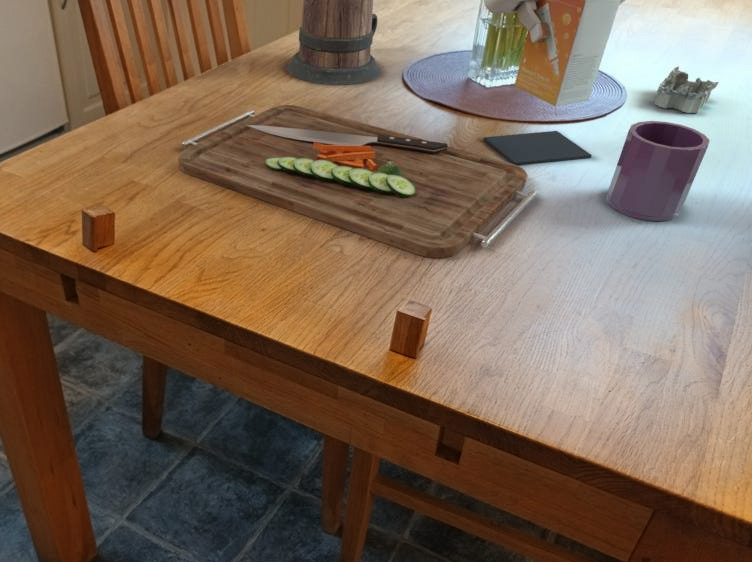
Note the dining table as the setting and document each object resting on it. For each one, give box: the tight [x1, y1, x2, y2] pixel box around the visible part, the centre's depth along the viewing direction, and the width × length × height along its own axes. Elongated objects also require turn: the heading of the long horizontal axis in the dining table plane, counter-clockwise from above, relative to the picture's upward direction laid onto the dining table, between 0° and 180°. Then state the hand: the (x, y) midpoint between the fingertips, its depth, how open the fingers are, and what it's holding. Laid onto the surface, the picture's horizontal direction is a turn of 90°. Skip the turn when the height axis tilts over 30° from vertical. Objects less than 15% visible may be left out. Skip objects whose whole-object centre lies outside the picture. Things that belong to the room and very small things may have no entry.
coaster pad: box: [483, 130, 593, 166], centre depth 103 cm, size 12×9×1 cm
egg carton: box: [653, 66, 719, 114], centre depth 117 cm, size 11×8×4 cm
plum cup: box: [605, 120, 710, 222], centre depth 87 cm, size 9×9×9 cm
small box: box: [514, 0, 621, 108], centre depth 93 cm, size 8×6×13 cm
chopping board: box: [178, 104, 538, 259], centre depth 94 cm, size 45×27×3 cm, turn 54°
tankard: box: [286, 0, 381, 86], centre depth 125 cm, size 24×17×20 cm
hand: (569, 38), depth 93 cm, fingers closed on small box, 7 cm apart
